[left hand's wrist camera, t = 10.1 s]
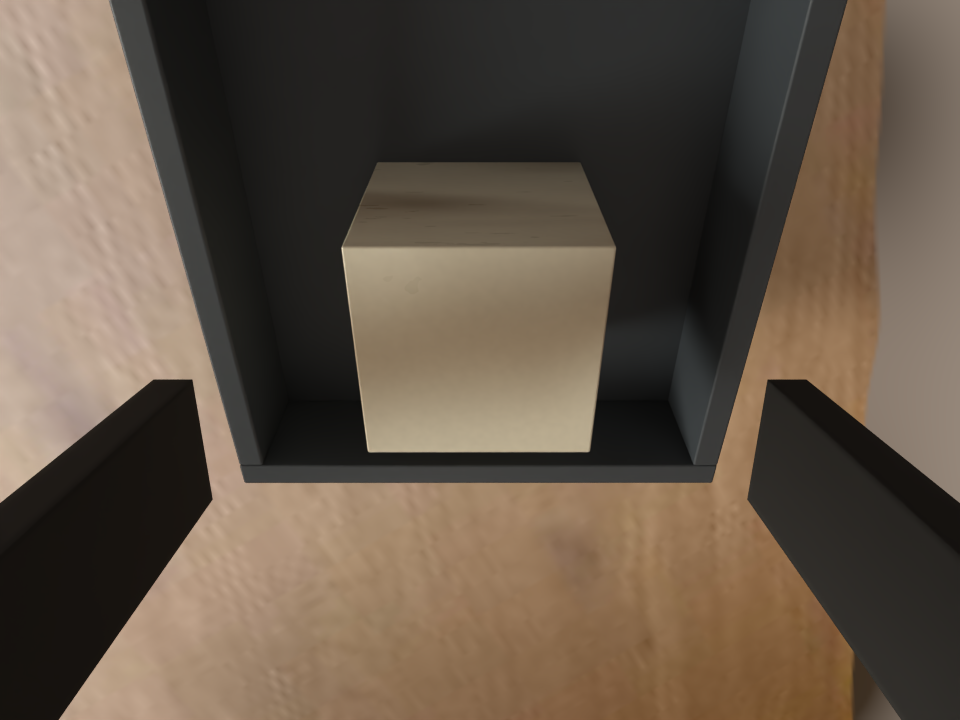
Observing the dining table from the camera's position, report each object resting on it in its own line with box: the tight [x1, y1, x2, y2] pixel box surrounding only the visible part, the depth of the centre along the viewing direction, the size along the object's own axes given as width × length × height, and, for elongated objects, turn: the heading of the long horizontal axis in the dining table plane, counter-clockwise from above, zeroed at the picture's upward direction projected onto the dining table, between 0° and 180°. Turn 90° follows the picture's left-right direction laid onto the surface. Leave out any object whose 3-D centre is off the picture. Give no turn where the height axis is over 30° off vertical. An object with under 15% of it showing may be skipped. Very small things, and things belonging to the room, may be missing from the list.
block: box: [342, 162, 616, 452], centre depth 18 cm, size 6×6×6 cm
